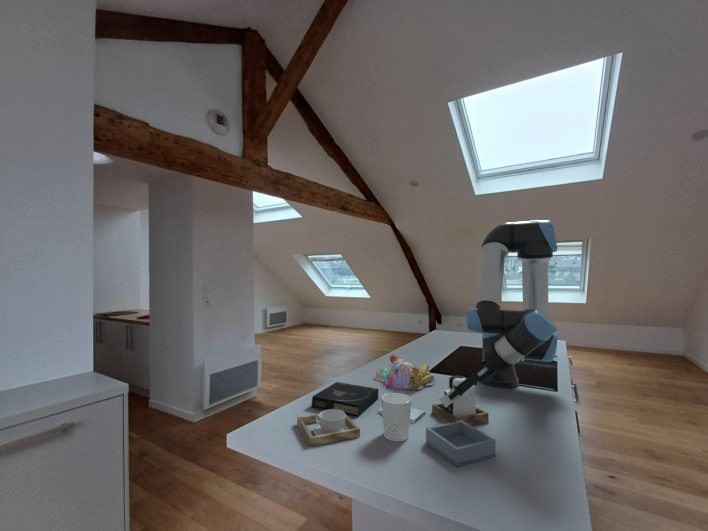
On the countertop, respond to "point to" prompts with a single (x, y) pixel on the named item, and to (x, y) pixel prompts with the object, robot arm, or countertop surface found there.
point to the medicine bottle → (460, 400)
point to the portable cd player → (345, 398)
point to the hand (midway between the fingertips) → (449, 398)
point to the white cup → (396, 416)
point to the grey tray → (460, 443)
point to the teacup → (330, 422)
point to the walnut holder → (471, 419)
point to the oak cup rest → (329, 437)
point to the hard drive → (412, 414)
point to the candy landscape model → (405, 375)
